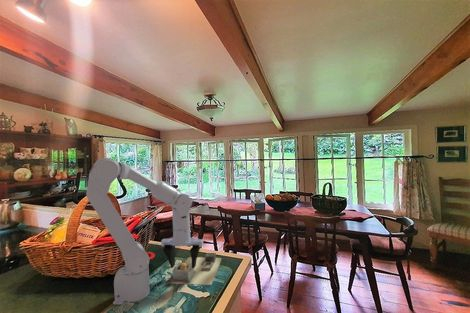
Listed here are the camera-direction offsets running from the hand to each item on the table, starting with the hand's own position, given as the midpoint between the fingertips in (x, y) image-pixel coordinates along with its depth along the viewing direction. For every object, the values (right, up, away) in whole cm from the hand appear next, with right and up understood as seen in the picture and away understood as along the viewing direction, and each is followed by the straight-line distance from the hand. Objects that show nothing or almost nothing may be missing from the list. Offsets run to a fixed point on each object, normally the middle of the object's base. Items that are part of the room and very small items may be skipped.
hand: (183, 266), depth 76 cm
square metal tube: (0, -3, 0) cm, 3 cm away
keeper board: (+5, -4, +5) cm, 8 cm away
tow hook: (-21, -5, +17) cm, 28 cm away
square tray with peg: (0, -5, 0) cm, 5 cm away
